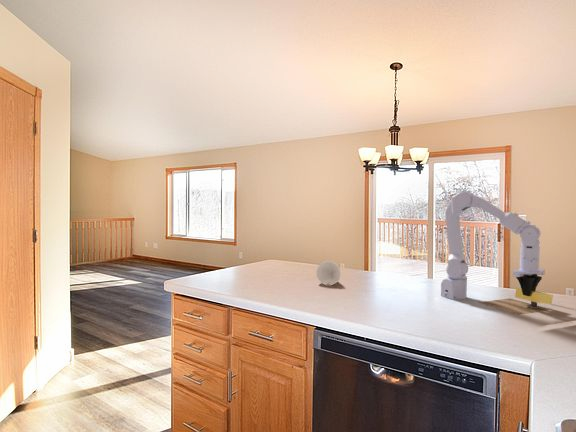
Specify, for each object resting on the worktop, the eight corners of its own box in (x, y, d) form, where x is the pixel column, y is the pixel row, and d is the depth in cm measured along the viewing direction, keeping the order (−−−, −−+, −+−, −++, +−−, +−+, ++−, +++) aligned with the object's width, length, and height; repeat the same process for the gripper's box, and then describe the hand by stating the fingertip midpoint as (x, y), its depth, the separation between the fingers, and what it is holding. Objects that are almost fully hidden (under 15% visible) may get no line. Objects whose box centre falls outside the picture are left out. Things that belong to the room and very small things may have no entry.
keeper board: (518, 317, 118) (519, 300, 118) (477, 305, 133) (478, 289, 133) (552, 312, 125) (553, 296, 125) (509, 301, 140) (510, 286, 139)
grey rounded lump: (331, 258, 183) (327, 255, 166) (347, 274, 180) (345, 272, 163) (316, 274, 183) (311, 273, 166) (332, 290, 180) (328, 290, 163)
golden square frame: (537, 302, 122) (538, 292, 122) (515, 296, 129) (516, 287, 129) (551, 304, 125) (552, 294, 125) (528, 298, 132) (530, 289, 132)
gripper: (527, 260, 119) (525, 299, 119) (554, 259, 124) (552, 296, 125) (507, 257, 125) (506, 294, 126) (534, 256, 131) (532, 291, 131)
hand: (528, 295), depth 126 cm, fingers closed on golden square frame
